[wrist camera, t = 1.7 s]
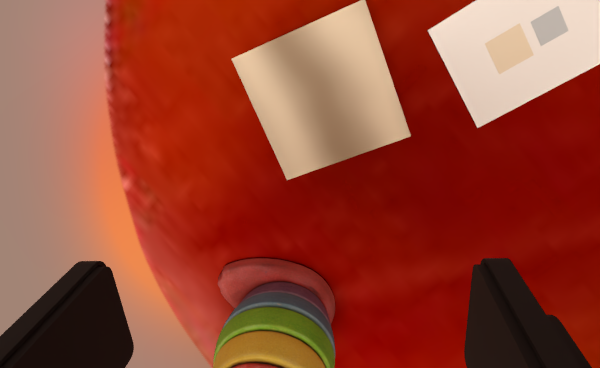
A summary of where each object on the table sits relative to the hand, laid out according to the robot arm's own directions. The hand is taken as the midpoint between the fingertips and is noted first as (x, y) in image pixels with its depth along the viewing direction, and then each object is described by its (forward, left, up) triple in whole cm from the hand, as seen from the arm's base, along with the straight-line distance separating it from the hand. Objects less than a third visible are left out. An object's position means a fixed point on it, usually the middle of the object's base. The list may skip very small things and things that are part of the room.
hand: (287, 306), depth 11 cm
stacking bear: (+11, +15, -23) cm, 29 cm away
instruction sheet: (-14, 0, -23) cm, 27 cm away
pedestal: (0, -2, -23) cm, 23 cm away
